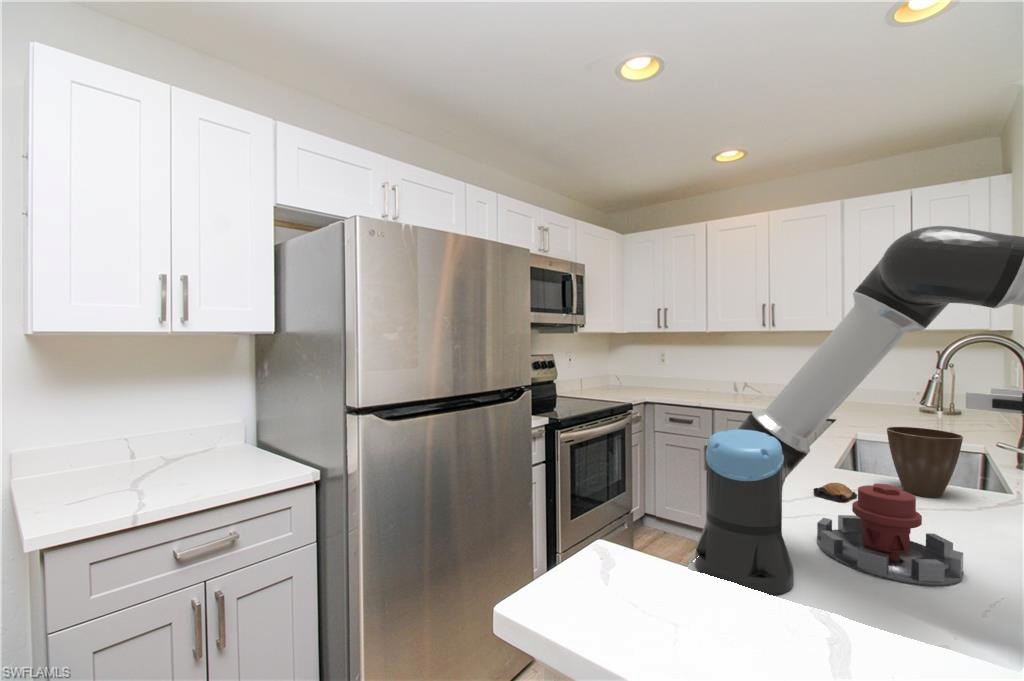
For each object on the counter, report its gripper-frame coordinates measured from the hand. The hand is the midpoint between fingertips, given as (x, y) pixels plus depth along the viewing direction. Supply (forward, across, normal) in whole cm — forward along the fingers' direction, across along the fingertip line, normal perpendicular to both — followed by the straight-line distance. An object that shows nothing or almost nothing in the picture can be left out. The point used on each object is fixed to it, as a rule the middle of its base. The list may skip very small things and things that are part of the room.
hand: (979, 397), depth 82 cm
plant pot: (+20, +42, -30) cm, 56 cm away
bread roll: (+31, +21, -31) cm, 49 cm away
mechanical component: (+10, -9, -30) cm, 32 cm away
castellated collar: (+10, -8, -30) cm, 33 cm away
